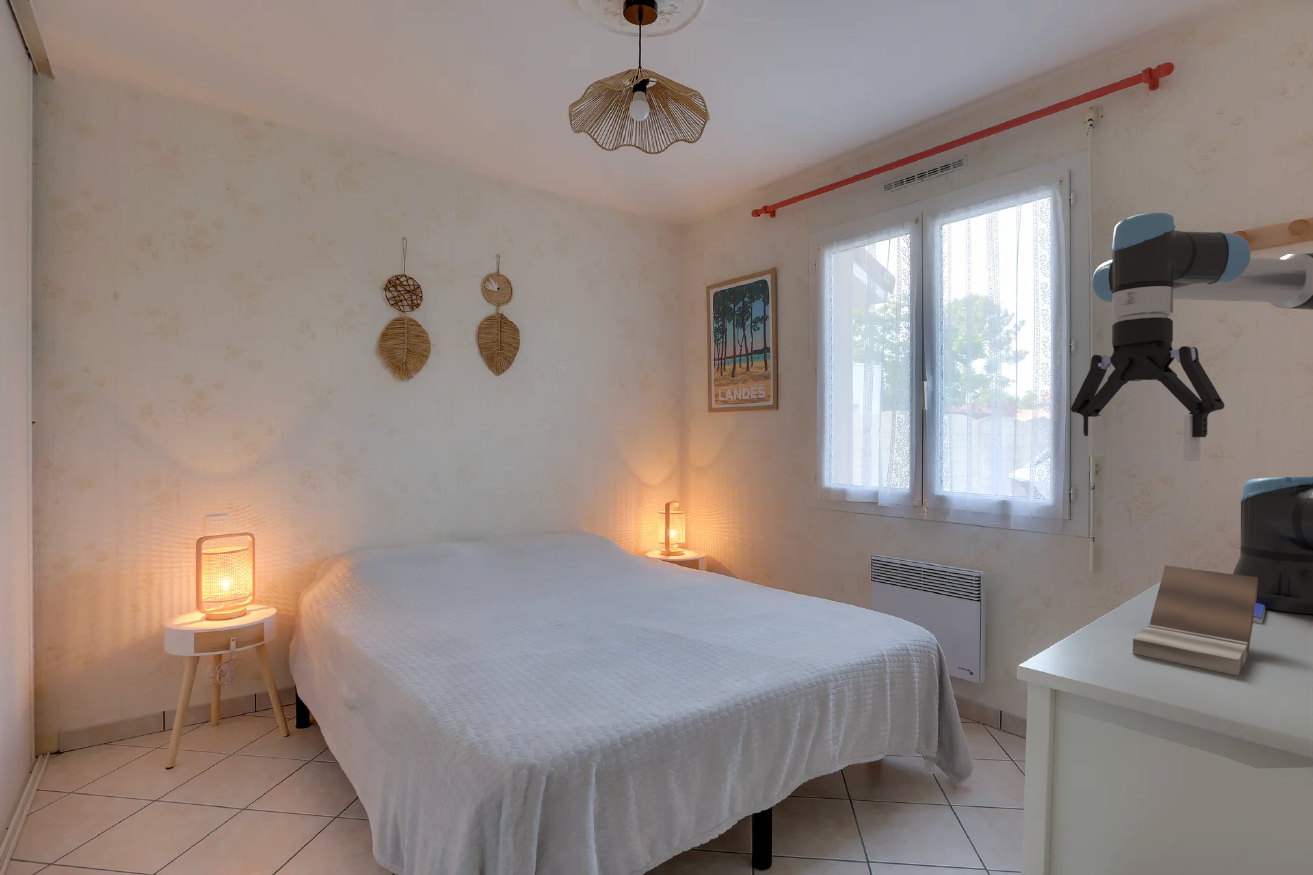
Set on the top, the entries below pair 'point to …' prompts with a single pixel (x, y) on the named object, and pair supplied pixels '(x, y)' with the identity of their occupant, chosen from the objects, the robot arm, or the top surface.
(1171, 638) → the grey oak plank
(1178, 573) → the walnut plank
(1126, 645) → the top surface
